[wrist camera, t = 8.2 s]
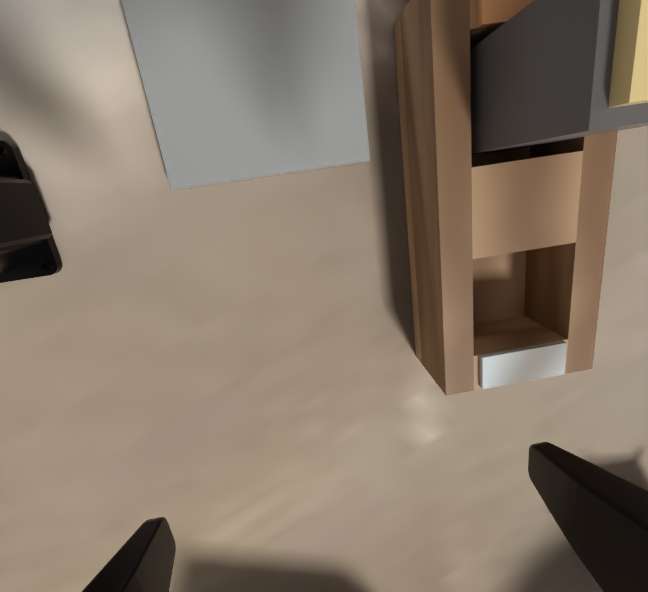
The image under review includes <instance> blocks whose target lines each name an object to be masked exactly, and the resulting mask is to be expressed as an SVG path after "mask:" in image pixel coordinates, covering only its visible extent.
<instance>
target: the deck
mask: <svg viewBox="0 0 648 592" xmlns="http://www.w3.org/2000/svg"><path fill="white" fill-rule="evenodd" d="M121 2H122V6H123V10H124V13H125V17H126V21H127V25H128V28H129V32H130V36H131V40H132V44H133V47H134V51H135V55H136V59H137V62H138V66H139V70H140V74H141V78H142V81H143V85H144V89H145V93H146V96H147V100H148V104H149V108H150V112H151V115H152V119H153V123H154V127H155V131H156V134H157V138H158V142H159V146H160V149H161V153H162V157H163V161H164V165H165V168H166V172H167V176H168V180H169V183H170V187H171V190H179V189H186V188H193V187H200V186H206V185H213V184H220V183H227V182H234V181H241V180H247V179H254V178H261V177H268V176H275V175H281V174H288V173H295V172H302V171H309V170H316V169H322V168H329V167H336V166H343V165H350V164H356V163H363V162H368V161H370V154H369V143H368V133H367V122H366V111H365V101H364V90H363V80H362V69H361V58H360V48H359V37H358V27H357V16H356V5H355V0H121Z"/></svg>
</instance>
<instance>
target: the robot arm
mask: <svg viewBox="0 0 648 592" xmlns="http://www.w3.org/2000/svg"><path fill="white" fill-rule="evenodd" d="M4 148H6V149H7V151H8V155H7V157H5V156H4V154H3V149H4ZM51 233H52V231H51V229H50V226H49V223H48V221H47V218H46V215H45V213H44V210H43V207H42V205H41V202H40V199H39V197H38V194H37V192H36V189H35V186H34V184H33V183H31V181H30V178H29V176H28V173H27V170H26V168H25V165H24V162H23V160H22V157H21V155H20V152H19V150H18V148H17V147H16V146H15V145H14V144H12V143H10V142H7V141H0V283H2V282H8V281H15V280H21V279H28V278H34V277H40V276H47V275H52V274H54V273H57V272H59V271H60V270H61V268H62V262H61V260H60V257H59V254H58V252H57V249H56V247H55V244H54V241H53V239H52V236H51ZM47 261H49V262H50V263H51V264H52V269H51V268H49V267H48V266H47ZM528 472H529V476H530V479H531V481H532V483H533V484H534V486H535V488H536V489H537V491H538V493H539V494H540V496H541V497H542V499H543V501H544V502H545V504H546V506H547V507H548V509H549V511H550V512H551V514H552V516H553V517H554V519H555V521H556V522H557V524H558V526H559V527H560V529H561V531H562V532H563V534H564V536H565V537H566V539H567V540H568V542H569V544H570V545H571V547H572V548H573V550H574V551H575V552H576V554H577V555H578V557H579V558H580V559H581V561H582V562H583V564H584V565H585V566H586V568H587V569H588V571H589V572H590V573H591V575H592V576H593V577H594V579H595V580H596V582H597V583H598V584H599V586H600V587H601V589H602V590H603V591H604V592H648V490H646V489H644V488H642V487H640V486H638V485H636V484H634V483H631V482H629V481H627V480H625V479H623V478H621V477H619V476H617V475H615V474H613V473H611V472H609V471H607V470H605V469H603V468H601V467H598V466H596V465H594V464H592V463H590V462H588V461H586V460H584V459H582V458H580V457H578V456H576V455H574V454H572V453H570V452H568V451H565V450H563V449H561V448H559V447H557V446H555V445H553V444H551V443H548V442H542V443H537V444H532V445H531V446H530V448H529V463H528ZM175 549H176V547H175V540H174V538H173V535H172V532H171V530H170V527H169V524H168V522H167V520H166V518H164V517H160V518H154V519H149V520H147V521H145V522H144V523H143V524H142V525H141V526H140V528H139V529H138V530H137V531H136V532H135V533H134V534H133V535H132V536H131V538H130V539H129V540H128V541H127V542H126V543H125V544H124V545H123V546H122V548H121V549H120V550H119V551H118V552H117V553H116V554H115V555H114V556H113V558H112V559H111V560H110V561H109V562H108V563H107V564H106V565H105V566H104V567H103V569H102V570H101V571H100V572H99V573H98V574H97V575H96V576H95V577H94V579H93V580H92V581H91V582H90V583H89V584H88V585H87V586H86V587H85V589H84V590H83V591H82V592H169V587H170V581H171V575H172V569H173V563H174V557H175Z"/></svg>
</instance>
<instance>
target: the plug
mask: <svg viewBox="0 0 648 592" xmlns="http://www.w3.org/2000/svg"><path fill="white" fill-rule="evenodd" d="M470 71H471V155H474V154H481V153H488V152H495V151H502V150H509V149H516V148H523V147H528V146H534V145H540V144H545V143H551V142H557V141H562V140H568V139H574V138H579V137H585V136H591V135H596V134H602V133H608V132H613V131H619V130H625V129H630V128H636V127H642V126H647V125H648V0H534V1H533V2H531V3H530V4H529V5H527V6H526V7H525V8H523V9H522V10H521V11H520V12H518V13H517V14H516V15H514V16H513V17H512V18H510V19H509V20H508V21H507V22H505V23H504V24H503V25H501V26H500V27H499V28H497V29H496V30H495V31H493V32H492V33H491V34H490V35H488V36H487V37H486V38H484V39H483V40H482V41H480V42H479V43H478V44H477V45H475V46H474V47H473V48H471V49H470Z"/></svg>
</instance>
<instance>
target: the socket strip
mask: <svg viewBox="0 0 648 592" xmlns="http://www.w3.org/2000/svg"><path fill="white" fill-rule="evenodd" d="M533 1H534V0H409V2H408V3H407V5H406V6H405V8H404V9H403V11H402V13H401V14H400V16H399V17H398V19H397V20H396V22H395V23H394V38H395V53H396V68H397V83H398V98H399V112H400V127H401V142H402V157H403V172H404V187H405V201H406V216H407V231H408V246H409V261H410V275H411V290H412V305H413V320H414V335H415V349H416V357H417V358H418V359H419V361H420V362H421V363H422V364H423V366H424V367H425V368H426V370H427V371H428V372H429V374H430V375H431V376H432V378H433V379H434V380H435V382H436V383H437V384H438V385H439V387H440V388H441V389H442V391H443V392H444V393H445V395H451V394H457V393H462V392H468V391H473V390H479V389H486V388H492V387H497V386H503V385H508V384H514V383H519V382H525V381H530V380H535V379H541V378H546V377H552V376H557V375H563V374H566V373H572V372H577V371H583V370H588V369H592V367H593V357H594V348H595V338H596V329H597V320H598V310H599V301H600V292H601V282H602V273H603V264H604V254H605V245H606V235H607V226H608V217H609V207H610V198H611V189H612V179H613V170H614V160H615V151H616V142H617V132H618V131H613V132H608V133H602V134H596V135H591V136H585V137H579V138H574V139H568V140H562V141H557V142H551V143H545V144H540V145H534V146H528V147H523V148H516V149H509V150H502V151H495V152H488V153H481V154H474V155H471V71H470V49H471V48H473V47H474V46H475V45H477V44H478V43H479V42H480V41H482V40H483V39H484V38H486V37H487V36H488V35H490V34H491V33H492V32H493V31H495V30H496V29H497V28H499V27H500V26H501V25H503V24H504V23H505V22H507V21H508V20H509V19H510V18H512V17H513V16H514V15H516V14H517V13H518V12H520V11H521V10H522V9H523V8H525V7H526V6H527V5H529V4H530V3H531V2H533Z"/></svg>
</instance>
